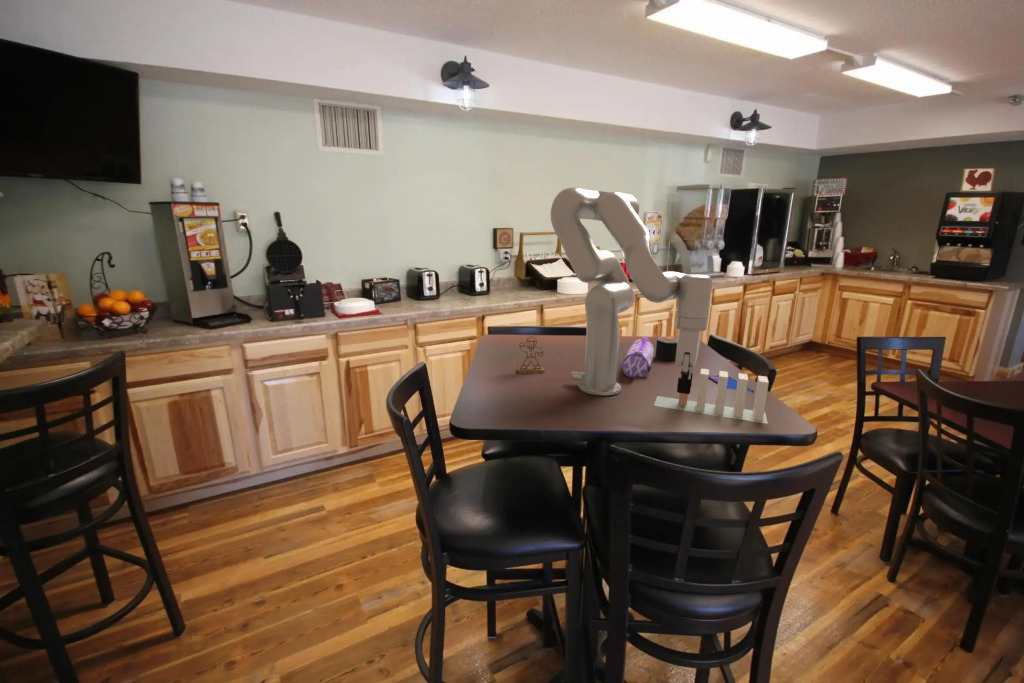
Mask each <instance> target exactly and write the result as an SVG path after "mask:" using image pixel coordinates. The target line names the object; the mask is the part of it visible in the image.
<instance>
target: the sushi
mask: <svg viewBox="0 0 1024 683" xmlns="http://www.w3.org/2000/svg"><path fill="white" fill-rule="evenodd" d="M677 342H678V337H674V336H670V335H669V336H660V337H657V338H656V345H655V346H656V347H655V348H656V349H655V358H656V359H658V358H659V359H658V360H662V361H665V362H666V361H667V362H673V361H674V362H675V359H676V351H677Z"/></svg>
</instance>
